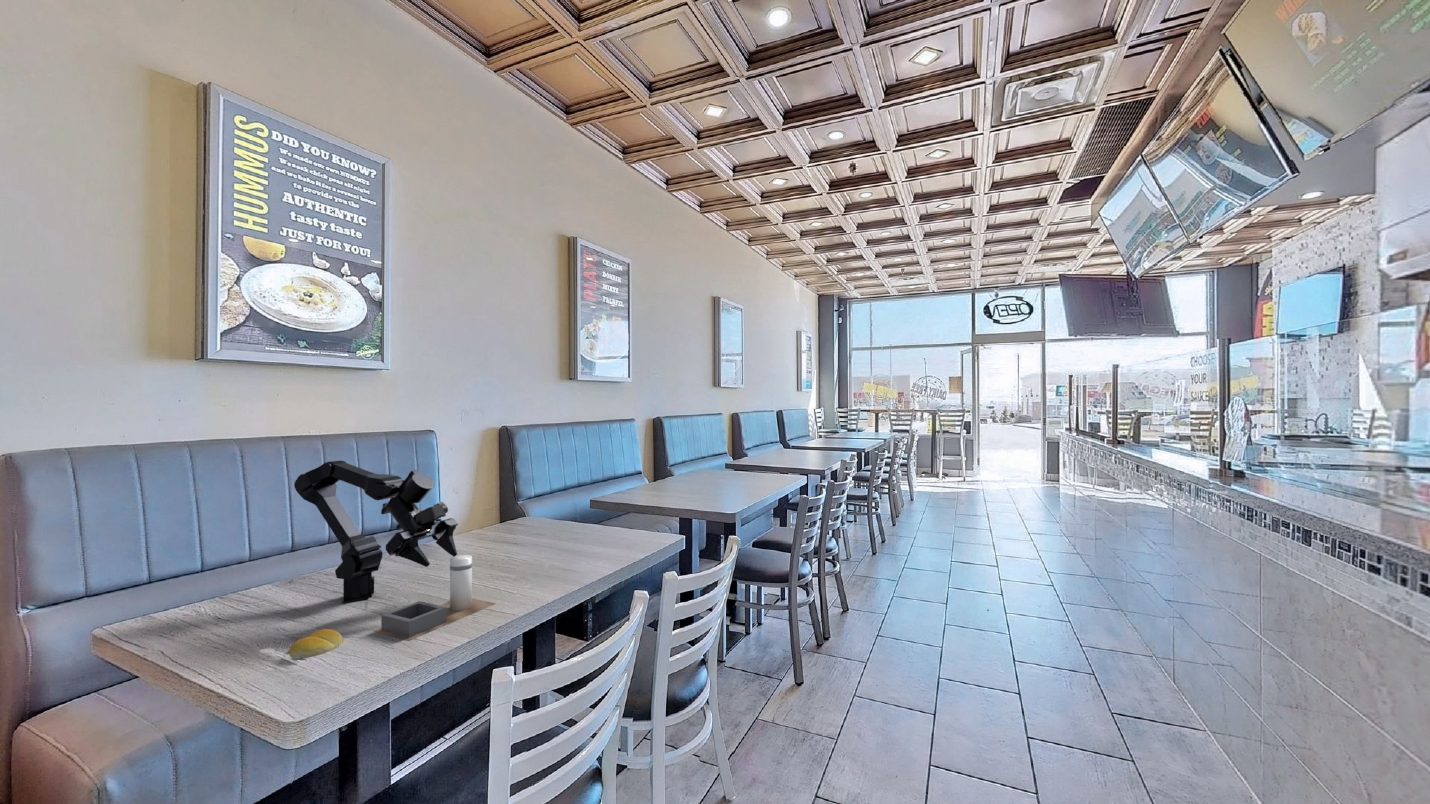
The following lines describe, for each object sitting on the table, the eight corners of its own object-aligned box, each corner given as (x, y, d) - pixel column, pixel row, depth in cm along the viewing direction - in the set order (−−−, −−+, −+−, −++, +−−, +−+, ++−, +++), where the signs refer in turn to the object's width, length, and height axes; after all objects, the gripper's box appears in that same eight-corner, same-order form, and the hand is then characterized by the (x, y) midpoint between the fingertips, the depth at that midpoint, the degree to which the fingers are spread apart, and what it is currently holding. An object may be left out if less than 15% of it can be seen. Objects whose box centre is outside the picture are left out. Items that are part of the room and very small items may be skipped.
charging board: (408, 644, 115) (408, 640, 115) (373, 634, 120) (373, 631, 120) (496, 606, 137) (496, 603, 137) (462, 599, 142) (462, 596, 142)
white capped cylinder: (450, 612, 131) (451, 561, 131) (448, 606, 135) (448, 556, 135) (473, 608, 134) (473, 558, 134) (470, 602, 138) (470, 554, 138)
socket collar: (409, 638, 117) (409, 622, 117) (381, 630, 121) (381, 614, 121) (446, 622, 125) (446, 607, 125) (419, 615, 129) (419, 601, 129)
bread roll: (279, 661, 108) (279, 641, 108) (319, 641, 117) (319, 623, 117) (313, 664, 107) (313, 644, 107) (351, 644, 116) (351, 626, 116)
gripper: (394, 500, 129) (432, 549, 126) (452, 488, 147) (486, 531, 144) (369, 530, 131) (405, 579, 128) (428, 515, 149) (461, 558, 146)
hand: (442, 560), depth 136 cm, fingers open, 9 cm apart
